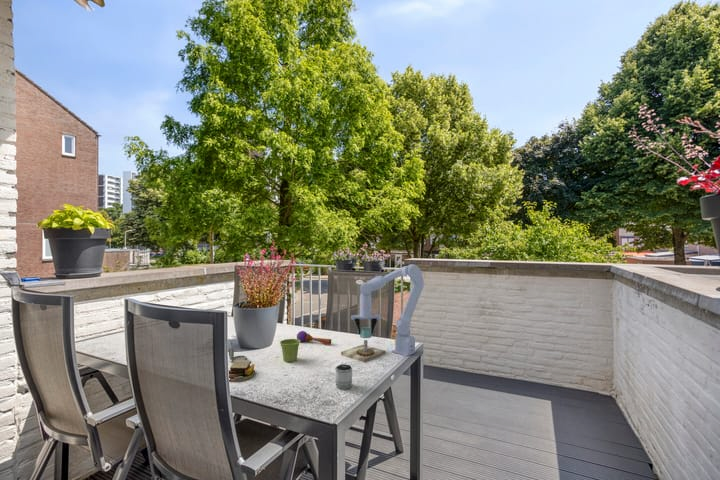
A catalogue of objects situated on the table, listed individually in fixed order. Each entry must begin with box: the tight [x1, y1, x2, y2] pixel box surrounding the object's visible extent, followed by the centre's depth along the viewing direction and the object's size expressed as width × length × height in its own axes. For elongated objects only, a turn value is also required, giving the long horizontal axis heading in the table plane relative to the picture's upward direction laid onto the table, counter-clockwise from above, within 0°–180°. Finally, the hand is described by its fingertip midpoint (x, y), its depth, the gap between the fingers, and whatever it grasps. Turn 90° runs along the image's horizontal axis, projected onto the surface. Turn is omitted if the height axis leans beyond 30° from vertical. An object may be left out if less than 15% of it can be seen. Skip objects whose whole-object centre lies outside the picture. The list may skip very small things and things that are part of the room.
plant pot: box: [279, 338, 301, 363], centre depth 161 cm, size 9×9×9 cm
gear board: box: [340, 339, 387, 363], centre depth 169 cm, size 15×16×6 cm
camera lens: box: [335, 363, 353, 391], centre depth 132 cm, size 6×6×8 cm
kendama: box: [296, 330, 332, 346], centre depth 188 cm, size 6×6×20 cm
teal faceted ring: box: [359, 326, 372, 339], centre depth 173 cm, size 6×6×4 cm
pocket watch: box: [228, 339, 248, 362], centre depth 160 cm, size 8×8×10 cm
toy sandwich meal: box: [228, 359, 256, 382], centre depth 142 cm, size 12×14×5 cm
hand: (365, 333), depth 173 cm, fingers closed on teal faceted ring, 6 cm apart
